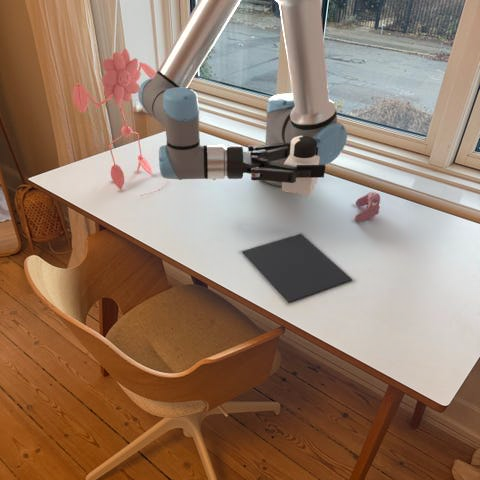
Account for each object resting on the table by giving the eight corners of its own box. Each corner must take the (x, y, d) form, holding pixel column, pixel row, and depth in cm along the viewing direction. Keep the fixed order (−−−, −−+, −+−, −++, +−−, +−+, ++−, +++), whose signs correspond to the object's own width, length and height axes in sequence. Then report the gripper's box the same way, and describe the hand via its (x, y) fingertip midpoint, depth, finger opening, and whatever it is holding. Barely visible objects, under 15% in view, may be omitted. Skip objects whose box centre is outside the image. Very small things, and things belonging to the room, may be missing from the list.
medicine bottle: (316, 183, 117) (323, 135, 108) (309, 196, 112) (316, 147, 104) (288, 178, 118) (293, 130, 110) (281, 191, 113) (285, 142, 105)
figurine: (87, 191, 134) (56, 55, 110) (156, 162, 148) (142, 37, 124) (119, 210, 127) (94, 69, 103) (189, 178, 141) (181, 48, 117)
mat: (300, 235, 120) (300, 233, 119) (351, 280, 106) (352, 279, 106) (242, 252, 114) (242, 250, 113) (288, 303, 100) (288, 301, 100)
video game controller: (367, 229, 125) (384, 209, 120) (353, 220, 124) (369, 200, 119) (367, 210, 132) (383, 191, 127) (353, 202, 131) (370, 183, 126)
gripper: (225, 157, 120) (311, 157, 121) (227, 199, 104) (326, 198, 106) (224, 128, 115) (315, 128, 116) (227, 168, 99) (331, 167, 100)
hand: (320, 161), depth 111 cm, fingers closed on medicine bottle, 9 cm apart
